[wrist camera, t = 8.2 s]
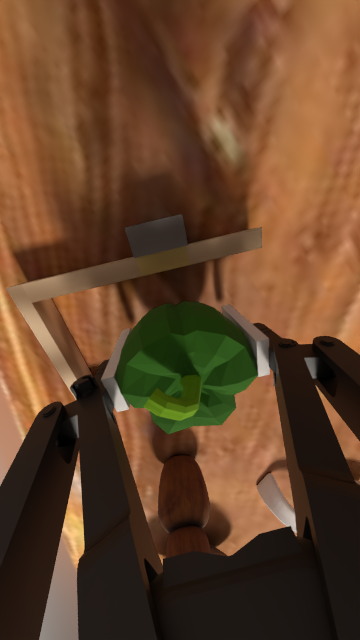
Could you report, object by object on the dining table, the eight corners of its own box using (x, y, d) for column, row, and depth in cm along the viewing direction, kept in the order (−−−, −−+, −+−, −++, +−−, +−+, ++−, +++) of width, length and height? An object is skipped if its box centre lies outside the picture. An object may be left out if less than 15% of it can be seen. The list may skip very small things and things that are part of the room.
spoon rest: (370, 470, 37) (416, 519, 30) (334, 500, 41) (368, 550, 34) (275, 458, 32) (306, 515, 25) (245, 495, 36) (264, 552, 29)
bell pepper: (236, 334, 18) (315, 427, 9) (171, 377, 19) (182, 497, 10) (189, 264, 15) (234, 297, 6) (115, 321, 16) (57, 422, 7)
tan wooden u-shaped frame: (14, 258, 15) (-25, 262, 12) (245, 203, 15) (268, 193, 12) (98, 406, 22) (88, 433, 19) (254, 368, 23) (270, 388, 19)
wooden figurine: (202, 448, 28) (244, 646, 14) (198, 470, 30) (230, 660, 16) (159, 450, 27) (158, 664, 13) (157, 473, 29) (155, 676, 16)
